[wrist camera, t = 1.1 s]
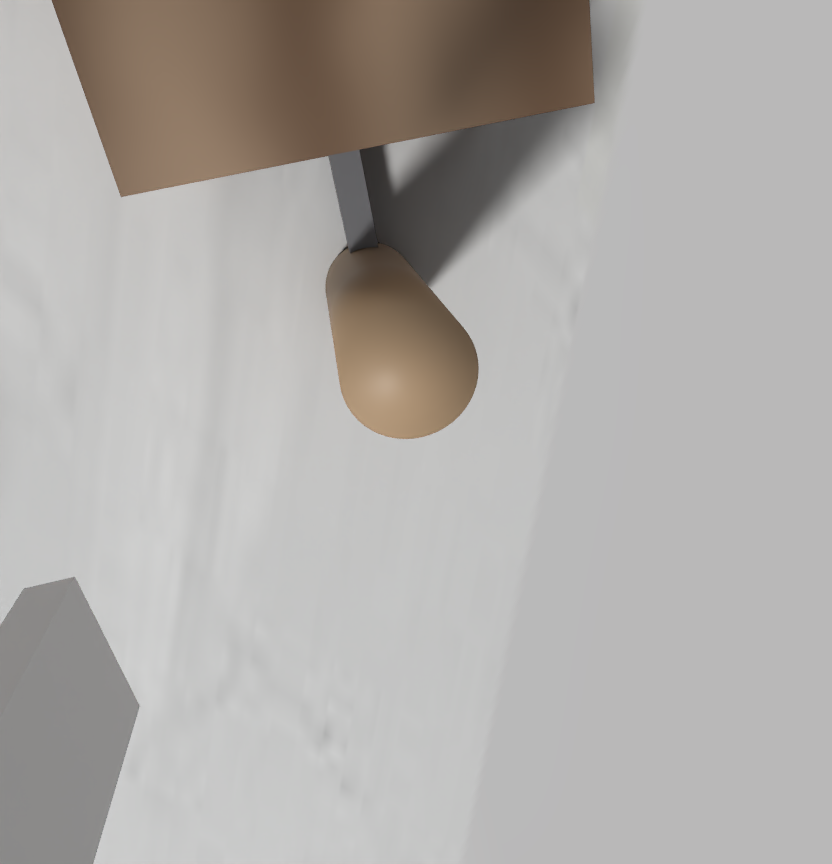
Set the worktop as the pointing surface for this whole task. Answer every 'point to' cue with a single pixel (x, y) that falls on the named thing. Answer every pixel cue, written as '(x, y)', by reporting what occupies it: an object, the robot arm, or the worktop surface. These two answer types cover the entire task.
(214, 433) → the worktop surface
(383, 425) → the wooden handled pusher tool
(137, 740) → the worktop surface
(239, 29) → the shelf lane
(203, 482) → the worktop surface
